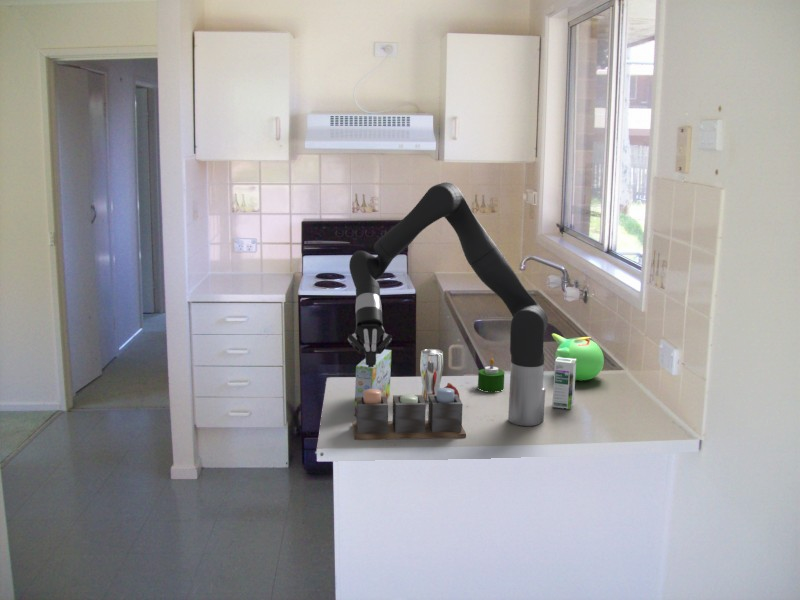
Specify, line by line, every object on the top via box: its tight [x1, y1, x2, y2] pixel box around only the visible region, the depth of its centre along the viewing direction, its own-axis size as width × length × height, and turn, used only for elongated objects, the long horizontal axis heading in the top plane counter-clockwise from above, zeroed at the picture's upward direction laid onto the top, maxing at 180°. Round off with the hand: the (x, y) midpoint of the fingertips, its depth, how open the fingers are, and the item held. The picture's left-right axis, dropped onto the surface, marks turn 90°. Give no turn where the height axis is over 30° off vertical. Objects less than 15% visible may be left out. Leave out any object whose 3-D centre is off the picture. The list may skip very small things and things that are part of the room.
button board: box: [352, 394, 467, 441], centre depth 229 cm, size 30×11×9 cm, turn 96°
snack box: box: [354, 348, 392, 416], centre depth 249 cm, size 21×6×15 cm, turn 166°
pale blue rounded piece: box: [437, 387, 454, 403], centre depth 229 cm, size 5×5×4 cm
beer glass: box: [419, 348, 444, 403], centre depth 256 cm, size 7×7×15 cm
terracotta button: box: [363, 389, 381, 404], centre depth 227 cm, size 5×5×4 cm
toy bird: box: [551, 333, 605, 382], centre depth 280 cm, size 18×17×15 cm
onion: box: [443, 382, 460, 398], centre depth 249 cm, size 6×6×8 cm
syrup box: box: [551, 357, 576, 410], centre depth 253 cm, size 6×6×14 cm
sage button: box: [400, 394, 418, 403], centre depth 229 cm, size 5×5×4 cm
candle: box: [477, 358, 505, 393], centre depth 268 cm, size 8×8×10 cm
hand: (371, 365), depth 231 cm, fingers closed
